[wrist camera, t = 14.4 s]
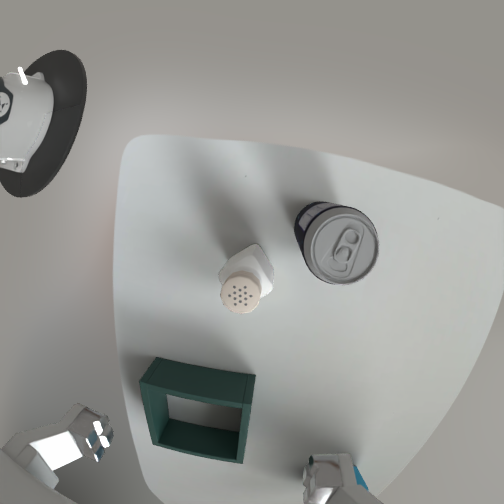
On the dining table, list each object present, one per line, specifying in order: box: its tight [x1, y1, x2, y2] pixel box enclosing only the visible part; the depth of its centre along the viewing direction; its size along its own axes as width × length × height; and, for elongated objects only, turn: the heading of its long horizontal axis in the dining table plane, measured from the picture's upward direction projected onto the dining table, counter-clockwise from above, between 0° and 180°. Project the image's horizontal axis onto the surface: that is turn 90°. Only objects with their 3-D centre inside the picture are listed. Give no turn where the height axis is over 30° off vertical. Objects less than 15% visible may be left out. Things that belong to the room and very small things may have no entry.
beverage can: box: [294, 202, 379, 285], centre depth 23 cm, size 6×6×12 cm
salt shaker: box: [219, 244, 274, 314], centre depth 26 cm, size 4×4×10 cm
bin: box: [139, 357, 256, 464], centre depth 33 cm, size 14×14×6 cm
